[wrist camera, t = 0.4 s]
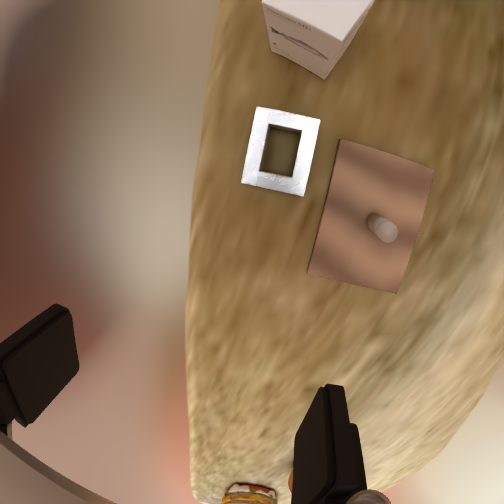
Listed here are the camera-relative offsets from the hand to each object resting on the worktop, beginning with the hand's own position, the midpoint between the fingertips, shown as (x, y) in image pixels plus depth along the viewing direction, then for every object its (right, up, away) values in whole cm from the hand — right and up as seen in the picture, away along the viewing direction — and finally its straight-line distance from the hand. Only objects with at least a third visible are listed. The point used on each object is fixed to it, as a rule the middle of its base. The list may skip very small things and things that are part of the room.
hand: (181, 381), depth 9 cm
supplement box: (+9, +28, +18) cm, 35 cm away
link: (+6, +16, +22) cm, 28 cm away
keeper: (+16, +8, +23) cm, 30 cm away
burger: (+2, -54, +45) cm, 71 cm away
